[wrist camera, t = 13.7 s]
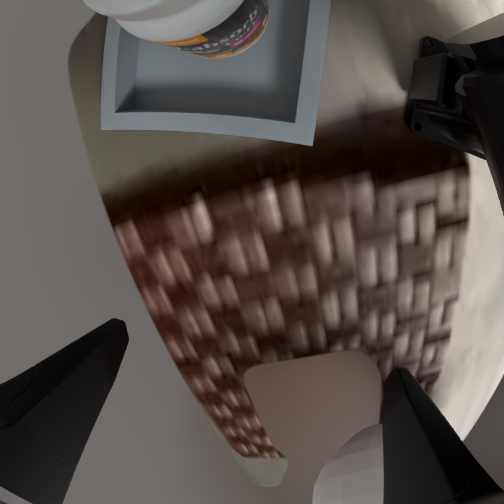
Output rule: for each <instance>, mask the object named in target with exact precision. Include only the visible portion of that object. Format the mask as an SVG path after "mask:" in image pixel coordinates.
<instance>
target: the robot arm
mask: <svg viewBox="0 0 504 504" xmlns="http://www.w3.org/2000/svg"><path fill="white" fill-rule="evenodd" d="M426 41H428V42H429V43H430V44H431V47H430V48H429V47H428V46H427V45H426ZM409 98H410V100H411V102H412V107H411V113H410V118H409V124H408V127H409V130H410V131H411V132H412V133H414V134H416V135H419V136H422V137H425V138H428V139H431V140H434V141H437V142H440V143H443V144H446V145H449V146H451V147H454V148H457V149H459V150H462V151H464V152H467V153H470V154H472V155H475V156H477V157H479V158H482V159H484V160H486V161H487V163H488V166H489V169H490V172H491V175H492V178H493V181H494V184H495V187H496V190H497V194H498V197H499V200H500V204H501V208H502V211H503V215H504V13H503V14H500V15H497V16H495V17H493V18H491V19H488V20H486V21H484V22H482V23H480V24H478V25H476V26H474V27H471V28H469V29H467V30H465V31H463V32H461V33H459V34H457V35H455V36H453V37H451V38H449V39H448V40H446V41H444V42H442V41H439V40H437V39H434V38H432V37H429V36H426V37H423V38H422V39H421V40H420V46H419V56H418V59H417V60H415V61H414V66H413V74H412V82H411V89H410V95H409ZM416 123H418V124H419V129H418V130H415V128H414V125H415V124H416ZM128 342H129V336H128V333H127V328H126V324H125V322H124V321H123V320H119V319H116V318H113V319H111V320H109V321H107V322H106V323H104V324H102V325H101V326H99V327H97V328H96V329H94V330H92V331H91V332H89V333H87V334H86V335H84V336H82V337H80V338H79V339H77V340H76V341H74V342H72V343H70V344H69V345H67V346H66V347H64V348H62V349H61V350H59V351H57V352H56V353H54V354H52V355H51V356H49V357H47V358H46V359H44V360H42V361H41V362H39V363H38V364H36V365H35V366H33V367H31V368H29V369H28V370H26V371H24V372H23V373H21V374H19V375H17V376H16V377H14V378H12V379H10V380H8V381H6V382H4V383H2V384H0V504H62V503H63V501H64V498H65V495H66V493H67V490H68V487H69V485H70V482H71V479H72V477H73V475H74V472H75V469H76V467H77V464H78V462H79V459H80V457H81V455H82V452H83V450H84V447H85V445H86V443H87V440H88V438H89V436H90V434H91V431H92V429H93V427H94V425H95V422H96V420H97V418H98V416H99V413H100V411H101V409H102V407H103V405H104V403H105V400H106V398H107V396H108V394H109V392H110V390H111V388H112V386H113V383H114V381H115V379H116V376H117V373H118V370H119V368H120V364H121V362H122V359H123V356H124V354H125V351H126V348H127V345H128ZM382 435H383V466H384V491H383V504H504V490H503V489H502V488H500V487H499V486H498V485H497V484H496V483H495V481H494V480H493V479H492V478H491V477H490V475H489V474H488V473H487V472H486V471H485V470H484V469H483V467H482V466H481V465H480V464H479V463H478V461H477V460H476V459H475V458H474V457H473V455H472V454H471V453H470V451H469V450H468V448H467V447H466V446H465V445H464V443H463V442H462V440H460V437H459V436H458V435H457V433H456V432H455V431H454V429H453V428H452V426H451V425H450V424H449V422H448V421H447V420H446V418H445V417H444V416H443V414H442V413H441V412H440V410H439V409H438V408H437V406H436V405H435V404H434V402H433V401H432V400H431V398H430V397H429V396H428V394H427V393H426V392H425V391H424V389H423V388H422V387H421V385H420V384H419V383H418V382H417V380H416V379H415V378H414V376H413V375H412V374H411V373H410V371H409V370H408V369H407V368H405V367H395V368H394V369H393V370H392V372H391V373H390V375H389V376H388V378H387V379H386V381H385V383H384V390H383V417H382Z"/></svg>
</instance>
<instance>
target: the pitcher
mask: <svg viewBox="0 0 504 504" xmlns="http://www.w3.org/2000/svg"><path fill="white" fill-rule="evenodd" d="M383 491H384V466H383V435H382V423H381V424H377V425H374V426H371V427H368V428H366V429H364V430H362V431H360V432H359V433H357V434H356V435H355V436H354V437H353V438H351V440H350V441H348V442H347V443H346V444H345V445H344V446H343V447H342V448H341V449H340V450H339V451H338V452H337V453H336V454H335V455H334V456H333V457H332V458H331V459H330V460H329V462H328V463H327V464H326V465H325V467H323V469H322V470H321V472H320V474H319V477H318V479H317V481H316V483H315V486H314V492H313V500H312V504H383Z"/></svg>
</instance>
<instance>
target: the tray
mask: <svg viewBox="0 0 504 504" xmlns="http://www.w3.org/2000/svg"><path fill="white" fill-rule="evenodd" d="M267 1H268V5H269V20H268V24H267V27H266V29H265V31H264V33H263V34H262V36H261V37H260V38H259V40H258V41H257V42H256V43H255V44H253V45H252V46H251V47H250V48H248V49H247V50H245V51H243V52H241V53H239V54H237V55H234V56H231V57H226V58H219V59H211V58H203V57H199V56H195V55H192V54H189V53H186V52H183V51H180V50H177V49H174V48H171V47H168V46H165V45H162V44H158V43H155V42H151V41H148V40H145V39H141V38H138V37H136V36H134V35H132V34H130V33H129V32H128V31H126V30H125V29H124V28H122V27H121V26H120V25H119V24H118V22H117V21H116V20H115V19H114V18H111V17H108V21H107V28H106V37H105V46H104V57H103V70H102V90H101V130H170V131H190V132H204V133H217V134H228V135H237V136H246V137H255V138H263V139H270V140H278V141H284V142H291V143H297V144H303V145H309V146H312V145H313V139H314V132H315V126H316V119H317V112H318V105H319V98H320V91H321V84H322V76H323V69H324V61H325V52H326V44H327V35H328V26H329V17H330V7H331V0H267Z"/></svg>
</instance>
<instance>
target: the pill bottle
mask: <svg viewBox="0 0 504 504" xmlns="http://www.w3.org/2000/svg"><path fill="white" fill-rule="evenodd" d="M83 2H84V3H85V4H86V5H87V6H88V7H89V8H90V9H92V10H93V11H95V12H97V13H99V14H102V15H105V16H108V17H111V18H114V19H115V20H116V21H117V22H118V24H119V25H120V26H121V27H122V28H124V29H125V30H126V31H128V32H129V33H130V34H132V35H134V36H136V37H138V38H141V39H145V40H148V41H151V42H155V43H158V44H162V45H165V46H168V47H171V48H174V49H177V50H180V51H183V52H186V53H189V54H192V55H195V56H199V57H203V58H211V59H219V58H226V57H231V56H234V55H237V54H239V53H241V52H243V51H245V50H247V49H248V48H250V47H251V46H252V45H253V44H255V43H256V42H257V41H258V40H259V38H260V37H261V36H262V34H263V33H264V31H265V29H266V27H267V24H268V20H269V5H268V1H267V0H83Z"/></svg>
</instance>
